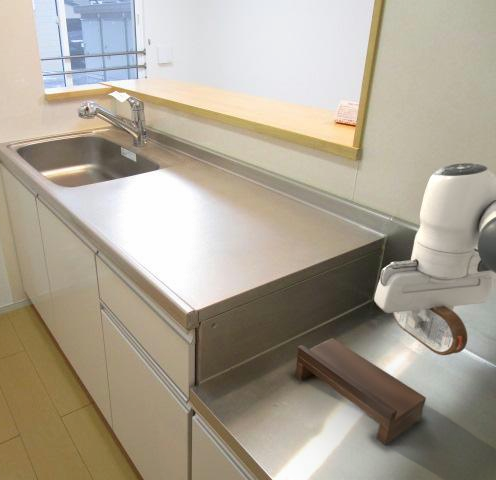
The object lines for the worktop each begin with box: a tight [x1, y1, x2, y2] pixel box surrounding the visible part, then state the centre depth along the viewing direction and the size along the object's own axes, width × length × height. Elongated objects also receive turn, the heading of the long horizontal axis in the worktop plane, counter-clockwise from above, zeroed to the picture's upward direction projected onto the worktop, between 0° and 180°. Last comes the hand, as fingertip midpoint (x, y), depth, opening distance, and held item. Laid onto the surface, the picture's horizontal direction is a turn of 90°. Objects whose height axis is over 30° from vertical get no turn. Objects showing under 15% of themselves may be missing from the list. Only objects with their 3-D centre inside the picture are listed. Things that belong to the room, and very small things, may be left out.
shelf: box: [294, 337, 427, 446], centre depth 83 cm, size 10×20×7 cm, turn 32°
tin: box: [392, 306, 468, 356], centre depth 82 cm, size 15×3×8 cm, turn 18°
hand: (425, 325), depth 83 cm, fingers closed on tin, 3 cm apart
